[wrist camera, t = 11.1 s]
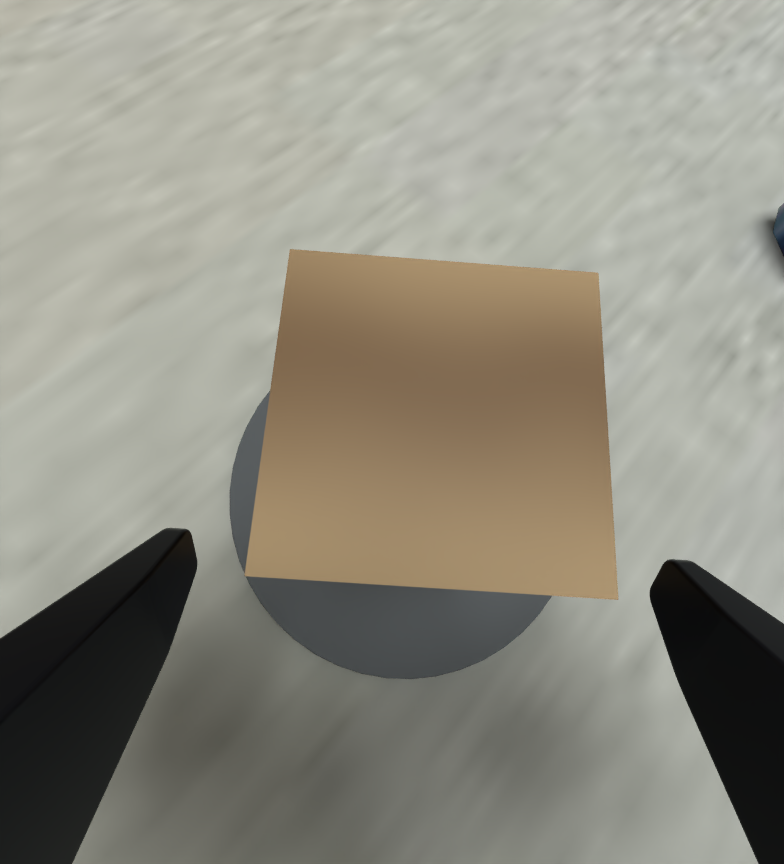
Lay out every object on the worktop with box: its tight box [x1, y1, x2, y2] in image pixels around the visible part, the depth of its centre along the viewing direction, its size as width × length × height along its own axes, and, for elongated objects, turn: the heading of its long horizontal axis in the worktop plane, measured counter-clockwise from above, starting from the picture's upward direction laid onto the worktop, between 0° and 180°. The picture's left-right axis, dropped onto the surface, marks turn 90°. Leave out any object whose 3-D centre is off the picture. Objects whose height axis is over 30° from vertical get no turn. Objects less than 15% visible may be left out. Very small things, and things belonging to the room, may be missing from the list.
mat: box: [230, 391, 551, 679], centre depth 18 cm, size 14×14×1 cm
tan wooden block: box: [245, 249, 618, 600], centre depth 12 cm, size 5×5×11 cm
